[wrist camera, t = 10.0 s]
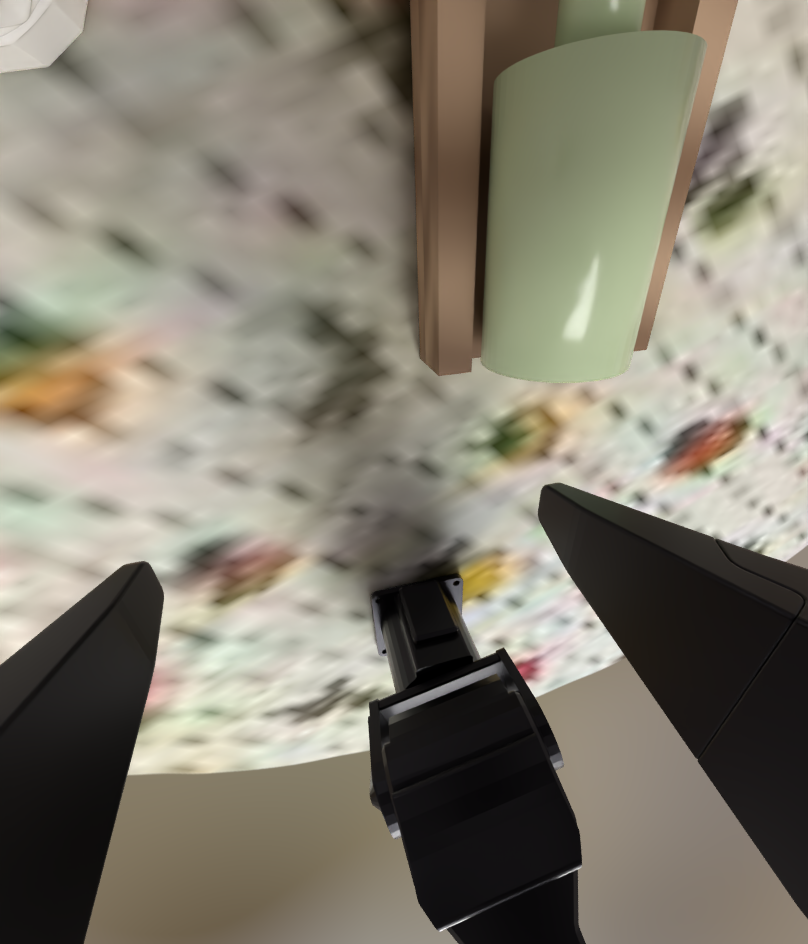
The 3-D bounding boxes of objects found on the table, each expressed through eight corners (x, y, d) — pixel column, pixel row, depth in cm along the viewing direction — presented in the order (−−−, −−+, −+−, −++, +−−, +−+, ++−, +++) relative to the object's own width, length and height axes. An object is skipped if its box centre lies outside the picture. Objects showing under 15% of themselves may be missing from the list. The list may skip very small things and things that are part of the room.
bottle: (587, 339, 20) (663, 375, 15) (467, 347, 20) (503, 388, 14) (662, -82, 13) (856, -290, 8) (479, -76, 13) (556, -287, 8)
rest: (605, 336, 22) (646, 349, 19) (420, 358, 20) (438, 375, 17) (678, -19, 15) (756, -71, 12) (409, -38, 13) (437, -103, 11)
